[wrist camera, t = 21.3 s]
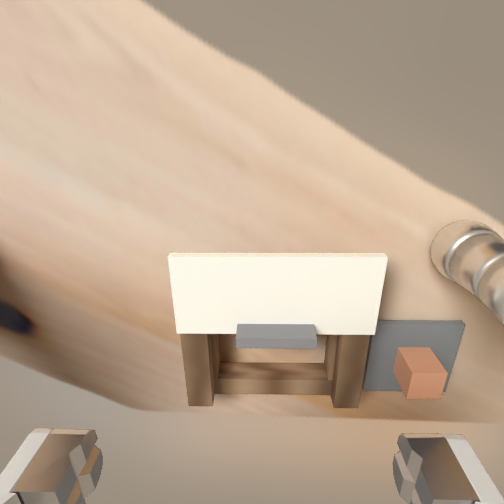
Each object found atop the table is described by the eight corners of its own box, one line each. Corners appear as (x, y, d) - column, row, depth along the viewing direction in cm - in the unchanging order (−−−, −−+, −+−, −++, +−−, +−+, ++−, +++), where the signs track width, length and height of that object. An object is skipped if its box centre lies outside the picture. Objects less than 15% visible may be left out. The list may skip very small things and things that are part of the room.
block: (392, 371, 44) (406, 398, 40) (397, 347, 43) (412, 373, 38) (423, 371, 44) (440, 399, 40) (429, 347, 42) (447, 373, 38)
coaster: (361, 386, 46) (363, 390, 46) (372, 320, 42) (374, 323, 41) (442, 387, 46) (445, 391, 45) (461, 320, 42) (465, 324, 41)
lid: (179, 327, 37) (171, 348, 34) (170, 252, 33) (160, 268, 30) (371, 329, 36) (382, 350, 33) (384, 253, 33) (397, 268, 29)
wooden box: (195, 376, 46) (188, 405, 42) (185, 273, 40) (175, 295, 35) (348, 377, 46) (358, 408, 41) (363, 274, 39) (376, 296, 35)
